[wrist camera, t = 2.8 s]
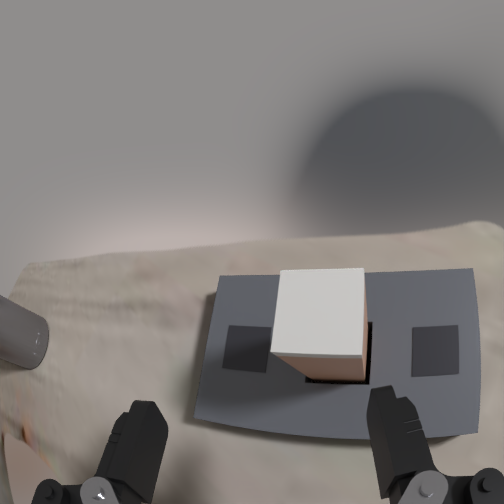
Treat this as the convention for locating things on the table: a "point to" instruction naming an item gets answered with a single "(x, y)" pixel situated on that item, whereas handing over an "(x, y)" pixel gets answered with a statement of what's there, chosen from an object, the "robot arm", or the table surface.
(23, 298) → the table surface
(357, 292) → the plug
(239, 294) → the grey flat rectangular block
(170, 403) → the table surface
